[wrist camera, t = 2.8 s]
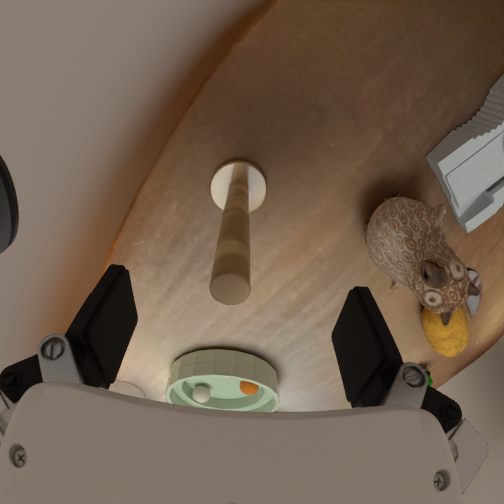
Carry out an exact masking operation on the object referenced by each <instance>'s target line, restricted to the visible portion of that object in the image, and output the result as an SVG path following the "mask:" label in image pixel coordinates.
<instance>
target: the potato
mask: <svg viewBox="0 0 504 504" xmlns="http://www.w3.org/2000/svg"><path fill="white" fill-rule="evenodd" d="M421 320H422V325H423V329H424V332H425V335H426V339H427V341H428V343H429V344H430V346H431V347H432V348H433V349H434V350H435V351H437V352H438V353H440V354H442V355H444V356H448V357H453V356H455V355H457V354H458V353H460V352H461V351H462V350H463V349H464V348H465V347H466V345H467V343H468V341H469V327H468V323H467V320H466V316H465V313H464V311H463V309H462V307H461V306H460V307H459V308H458V309H457V310H456V311H454V312H453V314H452V315H451V319H450V322H449V324H448V325H447V326H444V325H443V323H442V320H441V317H440V315H439V314H437V313H435V312H432V311H430V310H429V309H427V308H426V307H424V310H423V312H422V314H421Z"/></svg>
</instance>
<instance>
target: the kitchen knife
mask: <svg viewBox="0 0 504 504" xmlns="http://www.w3.org/2000/svg"><path fill="white" fill-rule="evenodd" d="M467 273H468V275H469V277H470V279H471V281H472V283H473V284H474V285H475V286H476V287H477V288H478V289H479V290H480V294H479V296H470V297H468V298H467V299H466V300H465V302H466V304H467V307H468V309H469V312H470V315H471V318H472V317H473V316H474V314H475V313H476V312H477V310H478V307H479V304H480V301H481V297H482V282H481V279H480V277H479V275H478V274H477V273H476V272H475V271H471V270H469V271H467Z"/></svg>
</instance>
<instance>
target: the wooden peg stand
mask: <svg viewBox="0 0 504 504" xmlns="http://www.w3.org/2000/svg"><path fill="white" fill-rule="evenodd" d="M266 190H267V187H266V181H265V178H264V175H263V173H262V172H261V171H260V169H259V168H258V167H256V166H255V165H254V164H252V163H250V162H247V161H242V160H236V161H230V162H228V163H226V164H224V165H222V166H221V167H220V168H219V169H218V170H217V171H216V173H215V175H214V177H213V179H212V182H211V195H212V198H213V200H214V202H215V203H216V205H217V206H218V207H219V208H220V209H222V210H223V211H224V212H223V217H222V222H221V227H220V232H219V238H218V243H217V248H216V254H215V259H214V265H213V270H212V276H211V281H210V293H211V295H212V296H213V298H214V299H215V300H217V301H218V302H220V303H222V304H226V305H236V304H239V303H242V302H243V301H245V300H246V299H247V298H248V296H249V294H250V290H251V285H250V236H249V213H250V212H252V211H254V210H256V209H257V208H258V207H259V206H260V205H261V204H262V202H263V201H264V199H265V196H266Z"/></svg>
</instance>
